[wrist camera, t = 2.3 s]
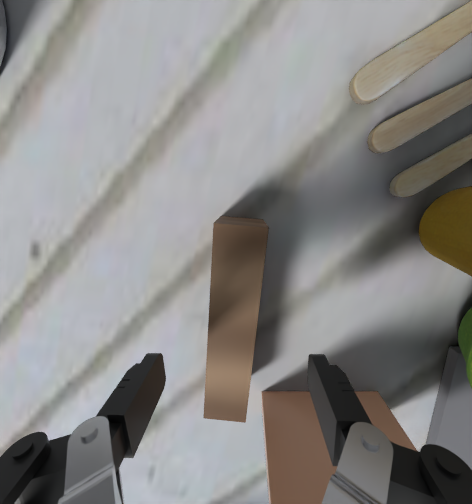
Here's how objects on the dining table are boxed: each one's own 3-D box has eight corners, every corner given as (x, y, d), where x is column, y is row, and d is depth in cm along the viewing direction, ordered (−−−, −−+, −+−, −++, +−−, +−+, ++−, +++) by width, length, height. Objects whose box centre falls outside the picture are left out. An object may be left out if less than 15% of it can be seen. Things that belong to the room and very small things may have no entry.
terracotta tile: (261, 391, 19) (285, 682, 8) (377, 391, 19) (585, 703, 7) (262, 417, 20) (284, 716, 9) (373, 417, 20) (555, 738, 8)
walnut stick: (221, 215, 16) (213, 223, 12) (263, 219, 16) (268, 227, 12) (212, 373, 19) (203, 418, 16) (245, 376, 19) (245, 422, 16)
